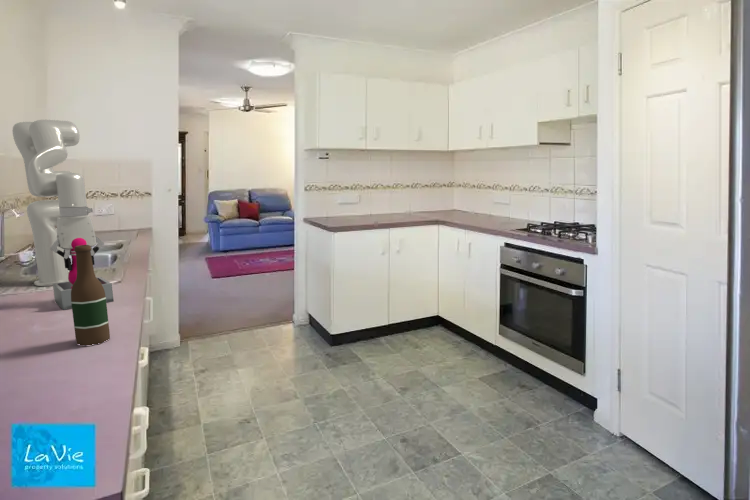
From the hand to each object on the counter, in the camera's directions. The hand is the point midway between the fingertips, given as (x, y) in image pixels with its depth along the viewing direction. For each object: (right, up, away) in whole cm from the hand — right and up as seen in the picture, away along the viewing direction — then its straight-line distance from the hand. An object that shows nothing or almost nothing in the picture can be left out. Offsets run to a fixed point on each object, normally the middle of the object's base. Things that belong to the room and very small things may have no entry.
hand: (80, 268), depth 154 cm
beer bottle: (+25, -17, -36) cm, 47 cm away
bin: (0, -11, +2) cm, 11 cm away
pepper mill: (0, -8, +1) cm, 8 cm away
